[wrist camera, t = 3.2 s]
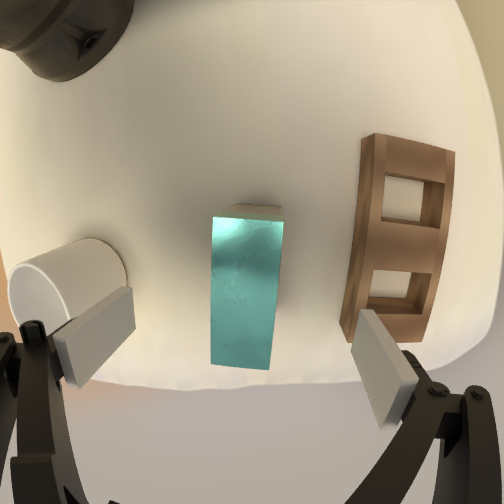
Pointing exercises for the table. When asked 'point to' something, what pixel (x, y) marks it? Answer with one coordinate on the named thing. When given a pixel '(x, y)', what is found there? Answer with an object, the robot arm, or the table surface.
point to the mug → (64, 283)
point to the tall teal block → (245, 284)
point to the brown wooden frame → (399, 235)
